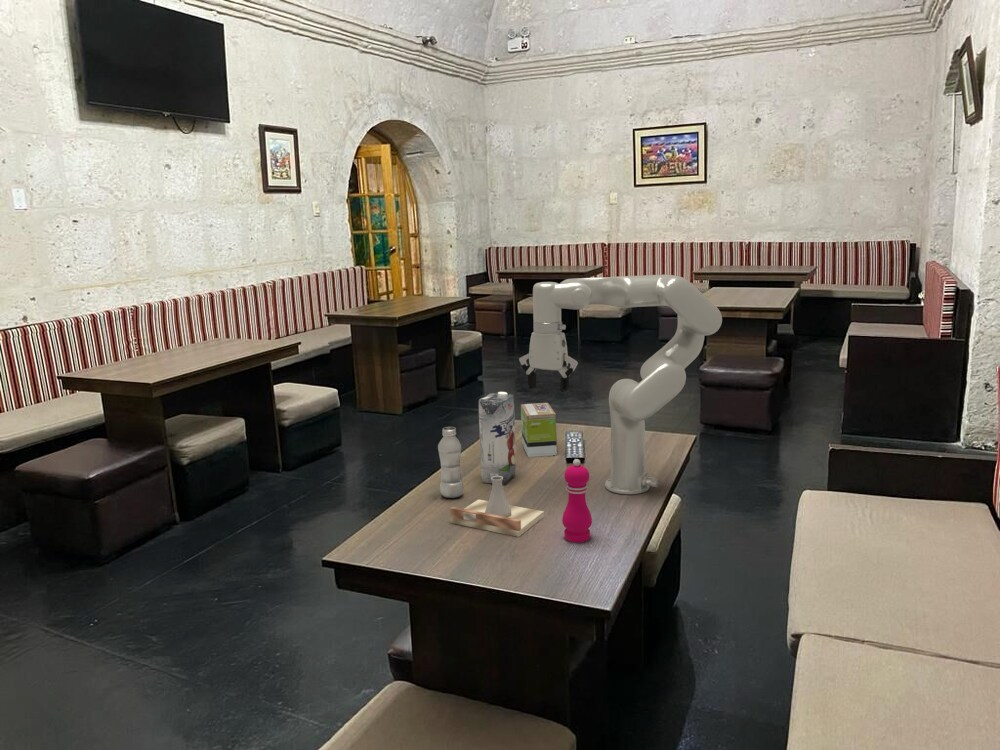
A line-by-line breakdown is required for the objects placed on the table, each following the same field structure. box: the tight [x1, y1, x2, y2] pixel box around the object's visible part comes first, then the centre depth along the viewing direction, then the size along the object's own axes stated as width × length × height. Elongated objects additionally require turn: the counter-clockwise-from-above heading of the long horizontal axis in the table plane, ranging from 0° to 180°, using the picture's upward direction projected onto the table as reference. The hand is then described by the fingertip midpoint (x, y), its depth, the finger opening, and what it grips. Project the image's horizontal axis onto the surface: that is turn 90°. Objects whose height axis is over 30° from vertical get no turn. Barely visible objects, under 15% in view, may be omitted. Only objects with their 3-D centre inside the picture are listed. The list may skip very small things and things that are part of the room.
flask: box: [485, 476, 511, 517], centre depth 194 cm, size 7×7×10 cm
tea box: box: [520, 402, 558, 458], centre depth 251 cm, size 15×10×15 cm, turn 6°
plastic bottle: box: [437, 426, 465, 499], centre depth 211 cm, size 6×7×20 cm
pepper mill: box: [561, 458, 593, 544], centre depth 181 cm, size 7×7×20 cm
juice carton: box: [478, 391, 517, 486], centre depth 223 cm, size 9×10×27 cm
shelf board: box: [449, 498, 545, 538], centre depth 195 cm, size 20×14×4 cm
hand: (548, 389), depth 207 cm, fingers open, 9 cm apart
